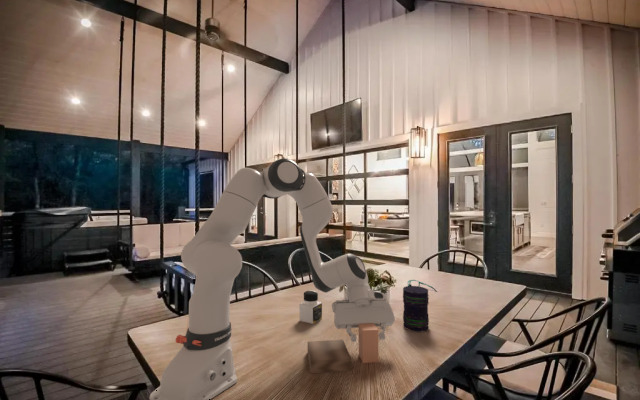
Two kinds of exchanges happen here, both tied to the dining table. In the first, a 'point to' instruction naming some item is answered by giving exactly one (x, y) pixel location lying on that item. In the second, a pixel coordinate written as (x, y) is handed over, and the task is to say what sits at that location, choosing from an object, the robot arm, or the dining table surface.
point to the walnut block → (328, 356)
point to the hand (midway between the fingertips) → (368, 340)
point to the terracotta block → (368, 343)
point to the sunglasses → (419, 284)
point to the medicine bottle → (310, 308)
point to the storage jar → (415, 308)
